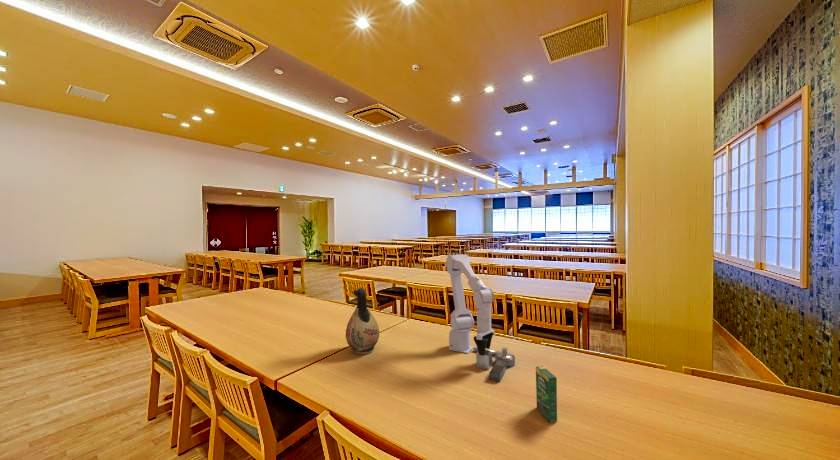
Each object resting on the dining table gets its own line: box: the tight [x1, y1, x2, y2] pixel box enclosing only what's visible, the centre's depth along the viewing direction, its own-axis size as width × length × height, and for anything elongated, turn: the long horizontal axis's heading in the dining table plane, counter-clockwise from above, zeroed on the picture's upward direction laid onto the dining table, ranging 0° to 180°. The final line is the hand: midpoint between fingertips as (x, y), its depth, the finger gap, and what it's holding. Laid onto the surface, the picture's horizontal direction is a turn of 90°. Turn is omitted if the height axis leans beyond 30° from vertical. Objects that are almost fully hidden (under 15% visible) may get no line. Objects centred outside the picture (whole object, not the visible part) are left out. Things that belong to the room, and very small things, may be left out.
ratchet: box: [489, 346, 516, 383], centre depth 123 cm, size 8×20×6 cm, turn 152°
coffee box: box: [535, 365, 558, 423], centre depth 94 cm, size 8×3×13 cm, turn 6°
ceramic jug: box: [345, 287, 380, 355], centre depth 142 cm, size 17×15×30 cm
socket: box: [475, 349, 493, 371], centre depth 126 cm, size 5×5×6 cm
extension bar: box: [472, 346, 502, 356], centre depth 138 cm, size 13×2×2 cm, turn 62°
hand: (484, 351), depth 126 cm, fingers open, 7 cm apart
